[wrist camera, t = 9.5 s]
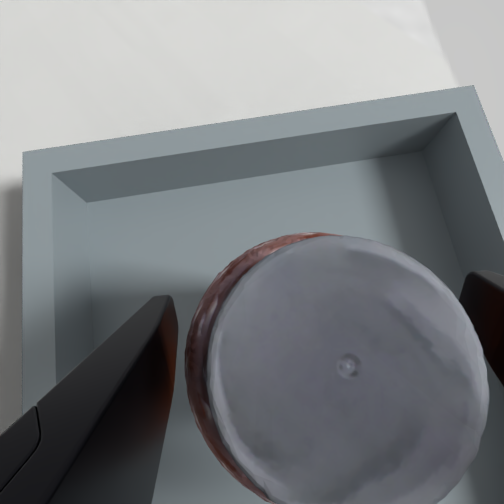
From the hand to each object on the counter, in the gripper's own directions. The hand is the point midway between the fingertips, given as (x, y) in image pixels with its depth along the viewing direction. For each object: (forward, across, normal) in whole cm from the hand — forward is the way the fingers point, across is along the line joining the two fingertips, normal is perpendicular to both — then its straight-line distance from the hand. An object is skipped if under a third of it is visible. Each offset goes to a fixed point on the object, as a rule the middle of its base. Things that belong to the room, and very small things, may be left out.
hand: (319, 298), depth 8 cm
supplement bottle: (+5, 0, +7) cm, 8 cm away
